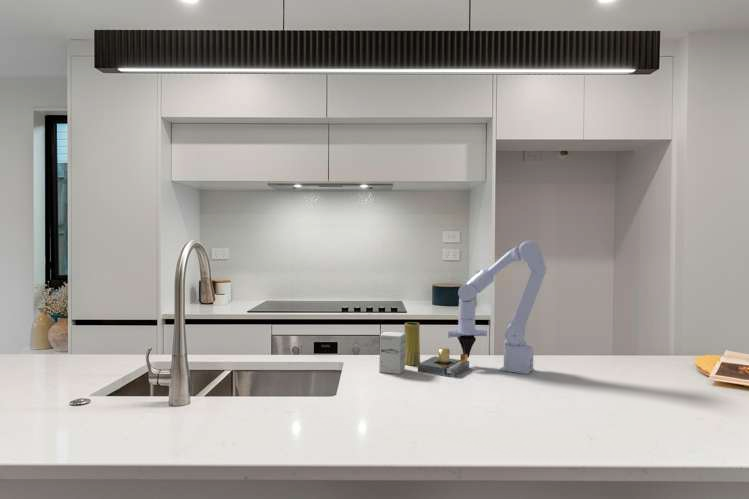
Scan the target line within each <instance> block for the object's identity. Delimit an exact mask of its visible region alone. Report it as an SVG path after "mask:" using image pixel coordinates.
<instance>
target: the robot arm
mask: <svg viewBox="0 0 749 499" xmlns="http://www.w3.org/2000/svg"><path fill="white" fill-rule="evenodd" d="M521 258H522V259H523V260H524V261H525V262H526V264H527V265H528V268H529V269H530V273H529V275H528V278H527V281H526V284H525V287H524V288H523V292H522V294H521V297H520V300H519V302H518V304H517V307H516V309H515V313H514V315H513V318H512V320H511V322H509V323H508V325H507V326H506V329H505V332H504V338H505V340H504V341H503V366H502V367H500V368H499V371H504V372H511V373H517V374H524V375H529V373H531V372H532V371H533V370H534V346H532V345H528V344H527V341H525V338H526V337H525V336H526V335H525V333H526V330H525V329H526V325H527V324H528V320H529V317H530V315H531V312H532V309H533V306H534V304H535V301H536V299H537V296H538V294H539V291H540V288H541V286H542V283H543V281H544V277H545V274H546V273H547V272H546V271H547V266H546V263H545V259H544V257H543V253H542V250H541V249H540V247H539V246H538V244H537V243H536V242H535V241H532V240H524V241H522V243H520V245H517V246H515V247H514V248H512V249H510V250H508V251H507V252H506V253H505V254H504V255H503V256H501V257H500V258H499V259H498V260H496V262H495V263H494V264H492V265H491V266H490V267H489V268H482V269H478V270H477V271H475V273H476V274H475V275H473V276H472V277H471V278H470V279H466V280H465V283H463V284H462V285H461V286H460V287H459V289H458V291H457V295H458V298H459V299H458V322H457V324H458V329H455V330H446V331H445V337H446V338H448V339H449V338H457V340H458V342H459V344H460V346H461V350H462V354H467V359H469V357H470V355H471V350H472V348H473V345H474V344H475V342H476V338H477V337H487V336H488V330H486V329H476V298H475V297H476V296H477V294H480V293H482V292H483V291H484V290H485V289H486V288H488V287H489V286H490V285H491V284H493V283H494V279H495V278H494V277H495V276H496V275H497V274H499V273H500V272H501V271H502V270H503V269H505V268H506V267H507V266H509V265H510V264H511V263H514V262H517V261H521V260H522V259H521Z"/></svg>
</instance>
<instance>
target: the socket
mask: <svg viewBox="0 0 749 499" xmlns="http://www.w3.org/2000/svg"><path fill="white" fill-rule="evenodd" d="M459 361H461V359H458V358H457V359H456V358H450V357H449V365H442V364H439V356H438V355H437V356H435V355H434V356H432V357H430V358H427V359H426V360H425V359H424V360H423V361H422V362H421V361H420V363H419V364H418V365H417V372H418V373H425V374H430V375H431V374H433V375H438V376H444V377H449V378H456V377H457V376H459V375H460V374H462V373H464V372H466V371H468V370H469V369H470V361H469V360H467V361H465V362H463V363H461V364H460V365H458V366H456V367H454V368H452V369H451V374H450V373H447V368H448V367H450V366H452V365H454V364H456V363H458V362H459Z"/></svg>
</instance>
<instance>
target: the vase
mask: <svg viewBox="0 0 749 499" xmlns="http://www.w3.org/2000/svg"><path fill="white" fill-rule="evenodd" d="M404 333H406V337H405V366H412V367H414V366H418V364H419V363H421V350H420V349H421V347H420V346H421V344H420V341H421V340H420V322H413V321H411V322H410V321H409V322H405V323H404Z"/></svg>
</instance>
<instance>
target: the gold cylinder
mask: <svg viewBox="0 0 749 499" xmlns="http://www.w3.org/2000/svg"><path fill="white" fill-rule="evenodd" d="M438 357H439V364H442V365H449V358H450V349H449V348H446V347H445V348H443V347H440V348H439V349H438Z"/></svg>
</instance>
